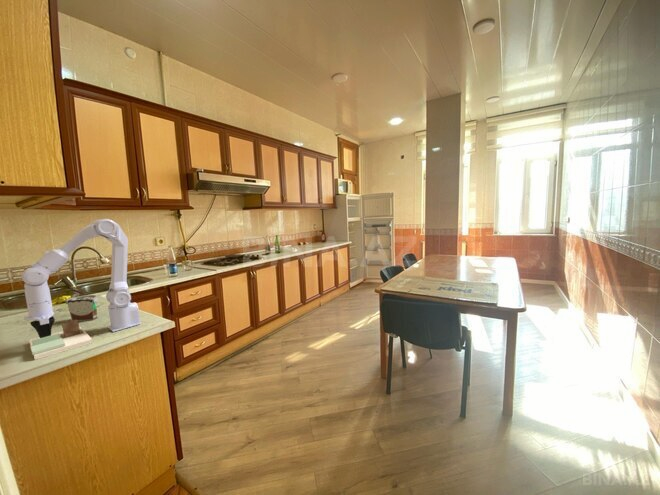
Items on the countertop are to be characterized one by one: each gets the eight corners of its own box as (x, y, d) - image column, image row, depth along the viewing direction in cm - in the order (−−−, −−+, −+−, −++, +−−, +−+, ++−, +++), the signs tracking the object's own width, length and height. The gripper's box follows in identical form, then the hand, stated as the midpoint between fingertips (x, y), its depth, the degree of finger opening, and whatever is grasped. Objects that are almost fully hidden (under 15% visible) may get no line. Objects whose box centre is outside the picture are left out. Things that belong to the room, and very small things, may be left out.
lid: (61, 339, 96) (60, 332, 95) (65, 345, 91) (64, 338, 91) (30, 348, 90) (29, 341, 89) (32, 354, 85) (31, 347, 85)
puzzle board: (81, 329, 108) (80, 326, 108) (92, 342, 96) (91, 339, 96) (29, 343, 97) (28, 339, 97) (34, 360, 85) (34, 355, 85)
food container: (107, 314, 125) (104, 294, 124) (96, 319, 119) (93, 298, 118) (80, 316, 125) (77, 295, 124) (68, 321, 119) (65, 299, 118)
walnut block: (78, 334, 104) (76, 319, 103) (80, 336, 102) (78, 321, 101) (64, 338, 101) (61, 323, 100) (66, 341, 98) (63, 325, 98)
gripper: (20, 301, 93) (27, 338, 95) (23, 309, 84) (30, 350, 86) (49, 296, 99) (55, 331, 100) (55, 303, 89) (61, 341, 91)
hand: (45, 339), depth 93 cm, fingers closed
